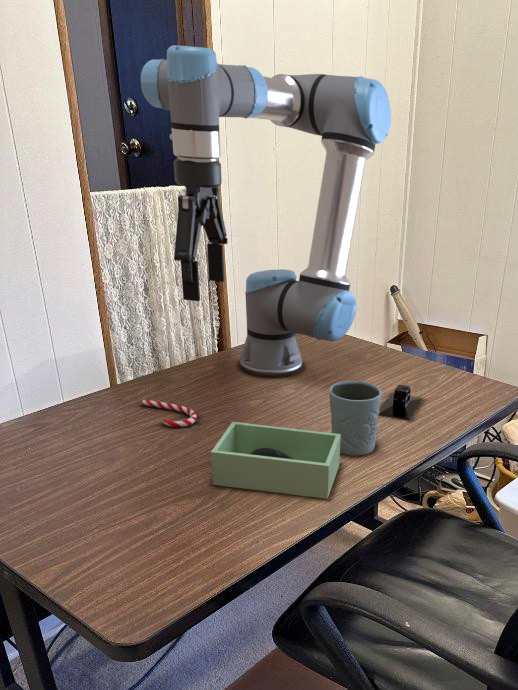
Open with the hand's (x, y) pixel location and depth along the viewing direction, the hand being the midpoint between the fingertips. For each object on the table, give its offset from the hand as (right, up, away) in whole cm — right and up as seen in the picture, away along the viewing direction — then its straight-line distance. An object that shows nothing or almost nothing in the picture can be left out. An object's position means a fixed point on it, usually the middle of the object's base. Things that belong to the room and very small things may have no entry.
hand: (204, 290), depth 124 cm
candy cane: (-13, -20, +21) cm, 32 cm away
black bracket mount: (+36, -17, +33) cm, 52 cm away
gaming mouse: (+13, -33, +3) cm, 35 cm away
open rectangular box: (+13, -33, +3) cm, 36 cm away
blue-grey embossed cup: (+26, -27, +15) cm, 40 cm away
